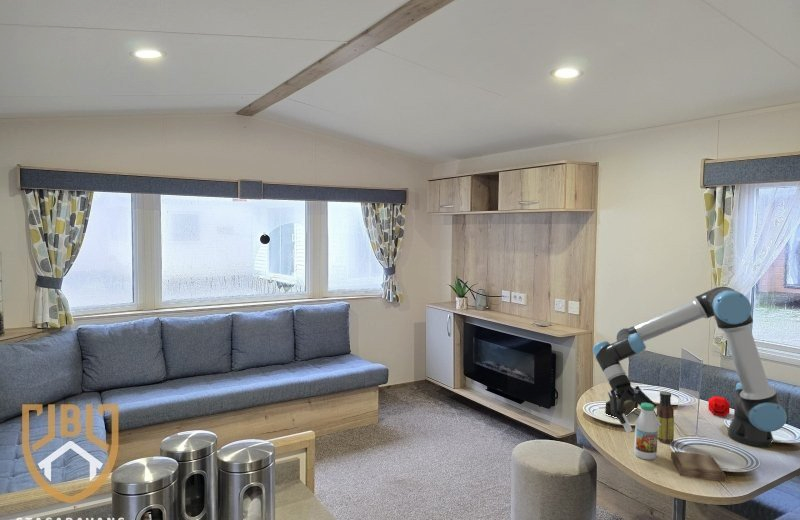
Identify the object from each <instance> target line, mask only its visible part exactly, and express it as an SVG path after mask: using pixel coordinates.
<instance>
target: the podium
mask: <svg viewBox="0 0 800 520" xmlns="http://www.w3.org/2000/svg"><path fill="white" fill-rule="evenodd" d="M670 459H671V461H672V462H673V464H674V466H675V469H676V470H677V473H678V474H679V476H681V477H689V478H696V479H705V480H713V481H714V480H715V481H721V482H726V477H727V475H726V473H725V472H724V471H723V469H722V468H721V467H720V465H719V464H718V462H717V461H716V460H715V458H714V457H713V456H712V455H711V454H704V453H695V452H694V453H693V452H687V451H686V452H685V451H677V450H676V451H675V450H674V452H672V451H671V452H670Z"/></svg>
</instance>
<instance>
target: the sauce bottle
mask: <svg viewBox="0 0 800 520" xmlns="http://www.w3.org/2000/svg"><path fill="white" fill-rule="evenodd" d="M671 398H672V393H671V392H669V391H665V390H663V391H662V390H661V391H659V403H658V405H657V406H656V415H657V418H658V420H659V422H660V424H661V426H659V427H658V435H657V441H659V442H660V443H665V444H671V442H672V441H673V442H674V436H675V435H674V434H675V416H674V413H675V412H674V408H673V406H672V401H671V400H672V399H671ZM673 442H672V443H673Z"/></svg>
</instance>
